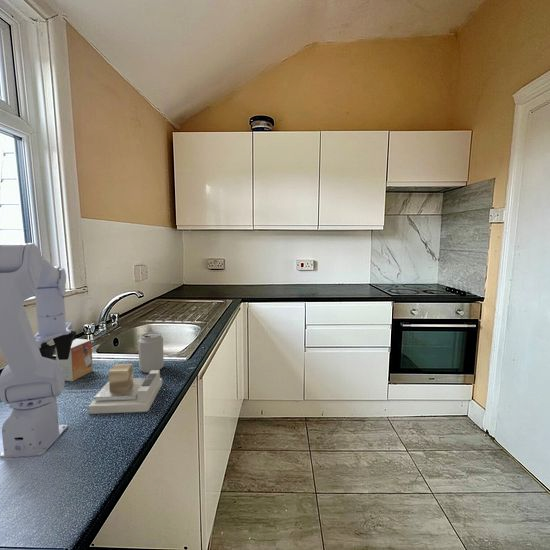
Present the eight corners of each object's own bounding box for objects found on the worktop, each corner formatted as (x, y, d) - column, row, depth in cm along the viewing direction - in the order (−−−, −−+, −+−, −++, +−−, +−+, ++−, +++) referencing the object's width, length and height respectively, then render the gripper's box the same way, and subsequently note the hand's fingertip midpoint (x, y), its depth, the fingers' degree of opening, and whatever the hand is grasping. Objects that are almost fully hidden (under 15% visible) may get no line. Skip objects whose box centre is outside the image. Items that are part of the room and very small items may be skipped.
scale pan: (135, 399, 78) (135, 395, 78) (94, 400, 77) (94, 397, 77) (147, 381, 88) (147, 377, 88) (111, 382, 86) (110, 378, 86)
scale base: (147, 411, 76) (147, 391, 76) (88, 413, 75) (87, 393, 74) (162, 384, 90) (161, 367, 90) (112, 386, 89) (111, 368, 88)
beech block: (127, 390, 80) (127, 370, 79) (109, 391, 79) (108, 371, 79) (133, 382, 84) (132, 363, 84) (116, 383, 84) (115, 364, 83)
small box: (72, 382, 91) (70, 348, 89) (56, 380, 92) (54, 346, 90) (93, 370, 98) (91, 339, 97) (78, 369, 99) (77, 338, 98)
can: (136, 368, 101) (135, 333, 99) (159, 362, 106) (158, 329, 104) (143, 376, 95) (142, 339, 94) (167, 370, 100) (166, 335, 99)
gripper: (50, 322, 69) (54, 378, 71) (83, 306, 83) (85, 353, 85) (16, 322, 68) (22, 379, 70) (55, 306, 83) (59, 354, 84)
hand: (55, 365), depth 78 cm, fingers open, 7 cm apart
